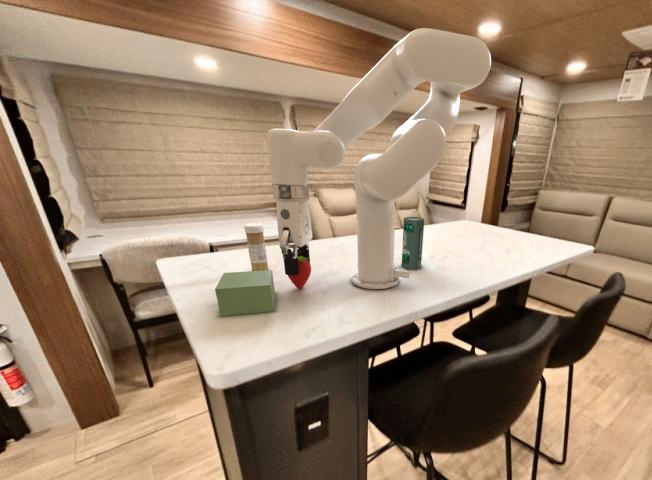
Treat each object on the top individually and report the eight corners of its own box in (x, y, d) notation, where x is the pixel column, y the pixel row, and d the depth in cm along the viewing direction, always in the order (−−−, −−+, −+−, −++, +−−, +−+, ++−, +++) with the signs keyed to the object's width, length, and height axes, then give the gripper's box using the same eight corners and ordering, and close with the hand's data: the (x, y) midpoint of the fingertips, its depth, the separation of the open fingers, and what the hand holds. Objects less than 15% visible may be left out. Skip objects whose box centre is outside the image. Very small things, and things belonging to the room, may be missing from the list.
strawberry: (312, 283, 81) (309, 245, 77) (313, 293, 75) (310, 254, 71) (288, 284, 80) (284, 246, 76) (287, 296, 73) (283, 255, 69)
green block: (275, 293, 74) (272, 269, 72) (273, 311, 65) (270, 285, 63) (228, 297, 71) (223, 272, 69) (220, 316, 62) (214, 289, 60)
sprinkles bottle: (266, 268, 90) (259, 222, 85) (271, 273, 87) (265, 225, 82) (249, 271, 88) (241, 223, 82) (254, 276, 84) (246, 226, 79)
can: (402, 263, 101) (404, 216, 95) (421, 264, 101) (424, 217, 95) (400, 268, 96) (403, 219, 90) (420, 270, 95) (424, 220, 89)
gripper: (294, 197, 60) (302, 282, 67) (318, 190, 76) (322, 260, 83) (256, 195, 60) (268, 280, 67) (288, 189, 76) (295, 258, 83)
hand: (298, 268), depth 75 cm, fingers closed on strawberry, 7 cm apart
